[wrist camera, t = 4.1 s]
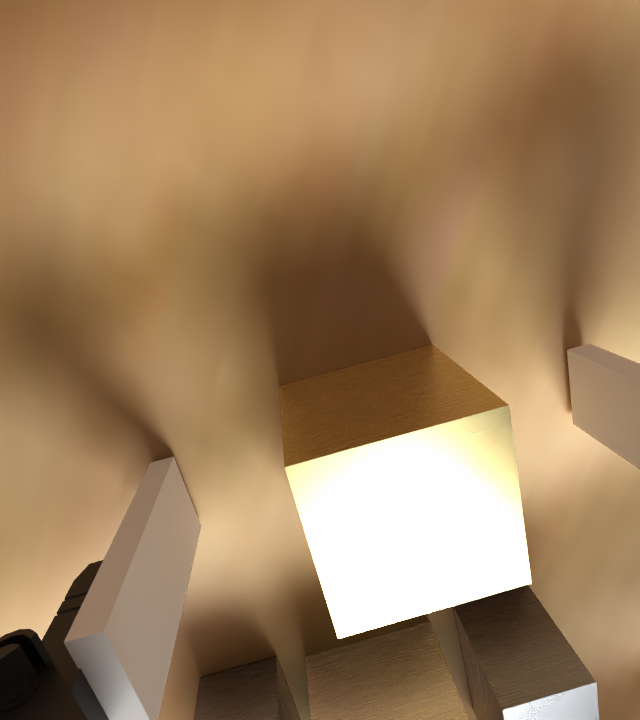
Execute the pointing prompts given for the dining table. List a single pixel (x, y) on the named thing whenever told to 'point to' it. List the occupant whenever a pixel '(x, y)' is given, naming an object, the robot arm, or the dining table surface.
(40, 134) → the dining table surface
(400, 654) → the light gray cube
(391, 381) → the yellow cube
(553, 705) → the dark grey cubes
